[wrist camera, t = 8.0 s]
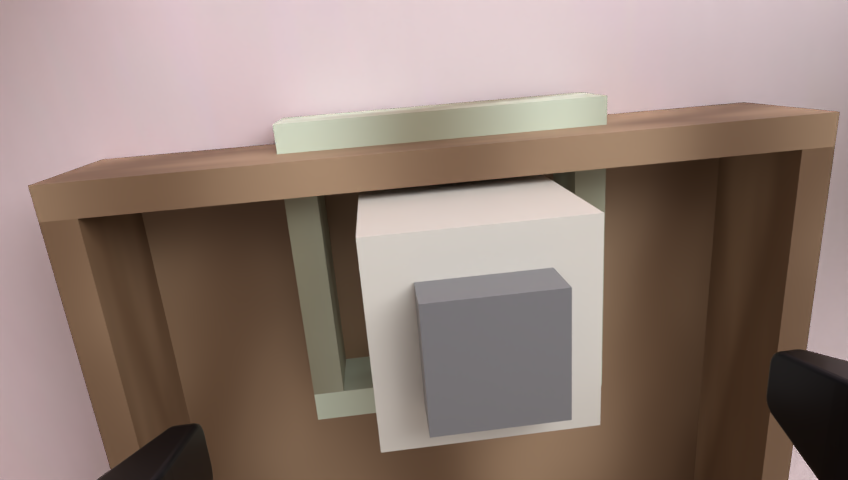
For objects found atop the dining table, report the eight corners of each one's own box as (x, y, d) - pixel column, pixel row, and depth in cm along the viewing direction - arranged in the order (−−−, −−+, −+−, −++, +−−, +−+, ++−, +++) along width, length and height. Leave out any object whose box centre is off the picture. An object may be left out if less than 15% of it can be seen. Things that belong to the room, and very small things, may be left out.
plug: (519, 160, 16) (628, 227, 9) (523, 306, 17) (621, 457, 11) (359, 175, 16) (354, 256, 9) (376, 322, 17) (381, 488, 10)
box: (746, 77, 16) (844, 80, 13) (704, 540, 21) (767, 629, 18) (96, 132, 15) (18, 152, 12) (214, 610, 20) (183, 719, 17)
